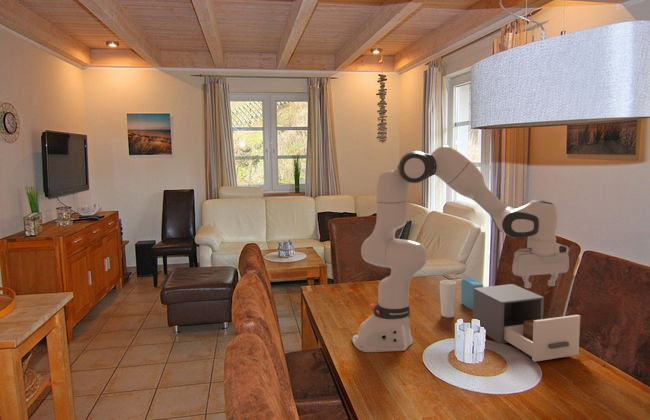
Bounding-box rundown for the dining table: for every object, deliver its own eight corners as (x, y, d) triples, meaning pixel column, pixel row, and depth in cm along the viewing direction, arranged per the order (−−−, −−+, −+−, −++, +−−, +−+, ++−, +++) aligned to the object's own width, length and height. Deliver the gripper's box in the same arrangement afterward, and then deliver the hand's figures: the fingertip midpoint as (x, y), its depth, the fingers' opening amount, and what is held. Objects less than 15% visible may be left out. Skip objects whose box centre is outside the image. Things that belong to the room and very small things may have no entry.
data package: (483, 311, 200) (483, 284, 198) (473, 311, 199) (474, 285, 197) (469, 302, 211) (470, 277, 210) (460, 303, 211) (461, 278, 209)
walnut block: (542, 350, 154) (543, 331, 154) (522, 339, 164) (523, 320, 163) (552, 349, 155) (553, 329, 154) (532, 338, 165) (533, 319, 164)
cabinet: (500, 343, 166) (501, 302, 164) (472, 325, 183) (473, 288, 181) (542, 337, 170) (544, 297, 168) (511, 320, 187) (512, 283, 185)
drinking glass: (457, 314, 196) (457, 280, 194) (454, 319, 190) (454, 284, 188) (441, 312, 199) (441, 279, 197) (438, 317, 193) (438, 283, 191)
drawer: (537, 363, 148) (538, 323, 146) (500, 340, 166) (501, 304, 164) (581, 356, 152) (583, 317, 150) (540, 334, 170) (542, 299, 168)
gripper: (520, 250, 150) (519, 291, 151) (573, 247, 155) (571, 286, 156) (508, 247, 156) (507, 286, 157) (559, 244, 161) (557, 282, 162)
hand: (539, 286), depth 157 cm, fingers open, 8 cm apart
